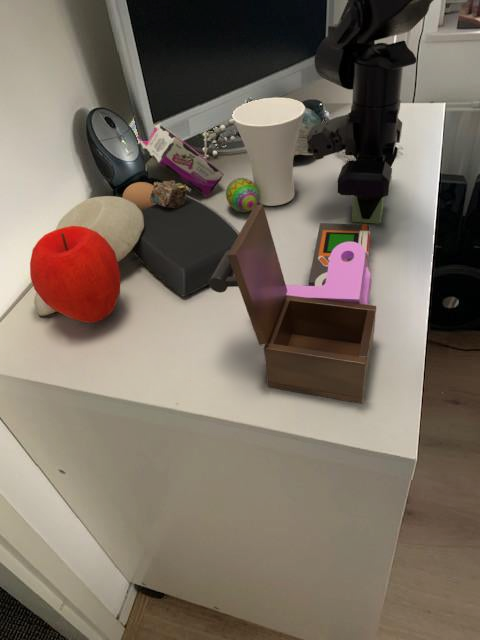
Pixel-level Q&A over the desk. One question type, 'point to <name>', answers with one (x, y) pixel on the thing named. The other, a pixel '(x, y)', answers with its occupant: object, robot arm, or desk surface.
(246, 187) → the egg
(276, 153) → the cup
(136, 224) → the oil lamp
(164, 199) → the rock
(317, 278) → the electronic device
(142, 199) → the egg
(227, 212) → the desk surface
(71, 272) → the apple
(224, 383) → the desk surface
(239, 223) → the desk surface
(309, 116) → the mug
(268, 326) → the lid
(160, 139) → the candy bar box
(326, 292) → the bracket
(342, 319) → the chest
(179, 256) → the hard drive
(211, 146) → the molecular model
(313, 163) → the desk surface
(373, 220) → the block
